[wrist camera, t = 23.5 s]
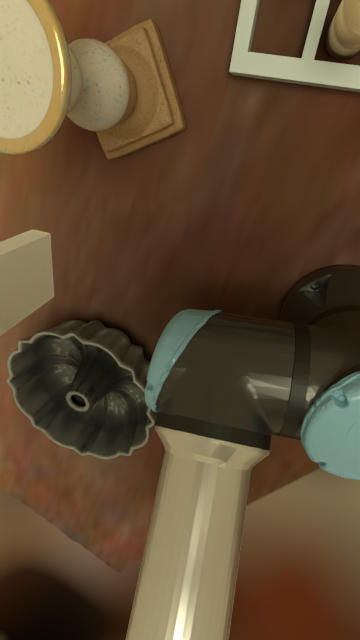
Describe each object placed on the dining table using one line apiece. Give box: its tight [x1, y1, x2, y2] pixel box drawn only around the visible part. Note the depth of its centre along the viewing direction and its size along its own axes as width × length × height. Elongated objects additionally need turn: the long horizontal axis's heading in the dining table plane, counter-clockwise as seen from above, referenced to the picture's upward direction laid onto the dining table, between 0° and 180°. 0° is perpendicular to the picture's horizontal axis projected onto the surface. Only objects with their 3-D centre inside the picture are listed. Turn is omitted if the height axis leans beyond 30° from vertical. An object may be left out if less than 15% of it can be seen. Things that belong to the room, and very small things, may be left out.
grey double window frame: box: [229, 0, 360, 92], centre depth 33 cm, size 15×9×2 cm, turn 82°
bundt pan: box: [7, 320, 156, 459], centre depth 59 cm, size 26×26×10 cm
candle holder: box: [0, 0, 187, 159], centre depth 31 cm, size 11×11×24 cm
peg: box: [326, 0, 360, 60], centre depth 29 cm, size 4×4×12 cm
